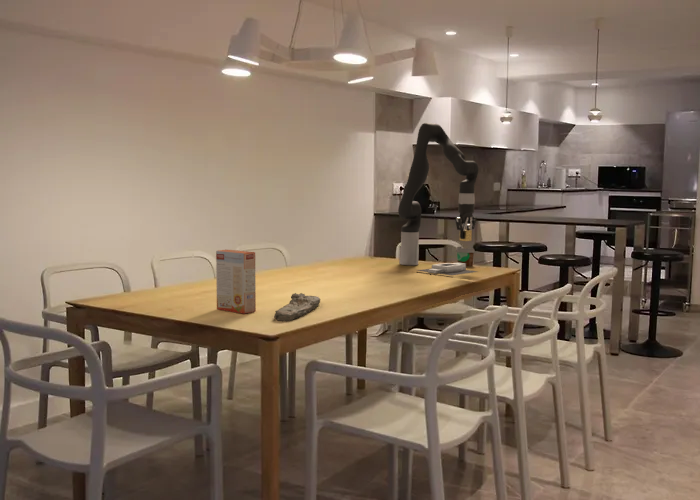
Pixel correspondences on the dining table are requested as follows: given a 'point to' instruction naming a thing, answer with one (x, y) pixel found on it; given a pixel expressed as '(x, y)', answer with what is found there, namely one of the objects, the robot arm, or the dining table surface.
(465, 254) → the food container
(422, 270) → the mat
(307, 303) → the elongated rock
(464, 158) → the robot arm
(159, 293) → the dining table surface
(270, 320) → the dining table surface
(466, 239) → the tan small block
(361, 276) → the dining table surface
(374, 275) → the dining table surface
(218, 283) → the cracker box
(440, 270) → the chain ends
